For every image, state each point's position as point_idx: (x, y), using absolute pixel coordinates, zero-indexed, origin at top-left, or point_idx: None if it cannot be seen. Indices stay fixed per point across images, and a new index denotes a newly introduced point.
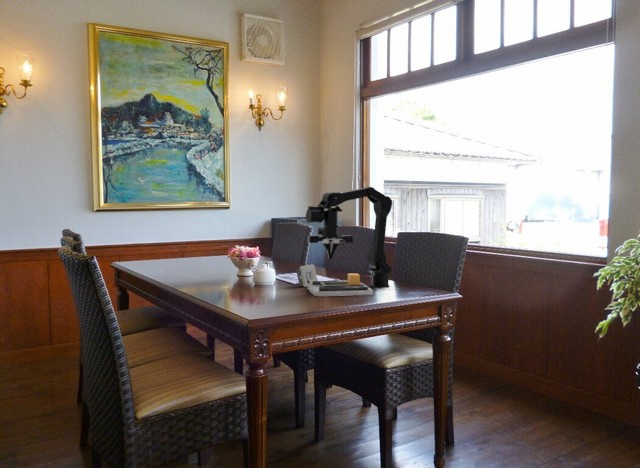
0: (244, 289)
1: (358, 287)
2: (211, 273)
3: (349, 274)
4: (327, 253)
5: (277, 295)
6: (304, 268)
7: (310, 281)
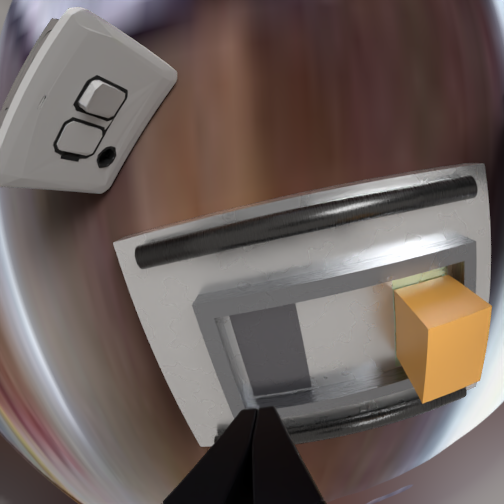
0: None
1: (420, 413)
2: None
3: (428, 371)
4: (194, 486)
5: (65, 393)
6: (20, 150)
7: (118, 136)
